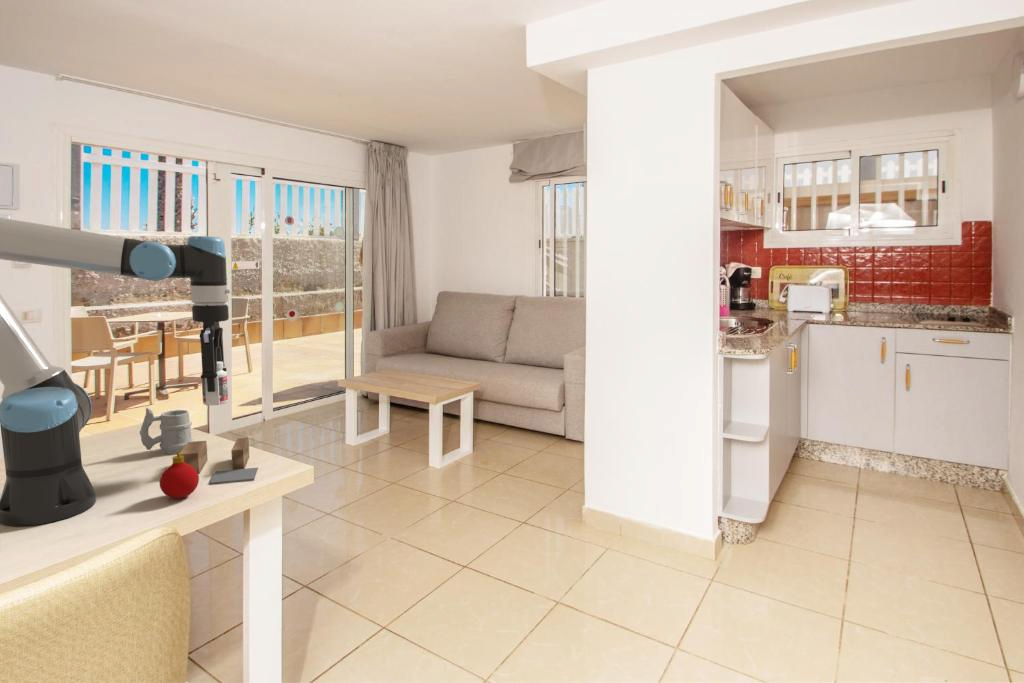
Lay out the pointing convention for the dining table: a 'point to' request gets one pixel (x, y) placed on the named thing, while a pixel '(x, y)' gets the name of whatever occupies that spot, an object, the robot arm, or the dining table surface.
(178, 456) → the christmas ornament
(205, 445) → the block
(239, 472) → the pad
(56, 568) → the dining table surface
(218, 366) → the pill bottle
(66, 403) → the robot arm
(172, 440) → the mug
